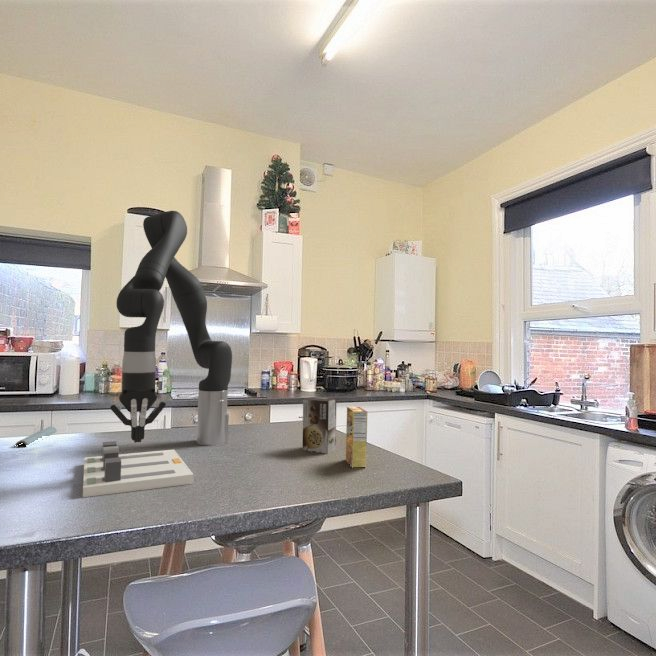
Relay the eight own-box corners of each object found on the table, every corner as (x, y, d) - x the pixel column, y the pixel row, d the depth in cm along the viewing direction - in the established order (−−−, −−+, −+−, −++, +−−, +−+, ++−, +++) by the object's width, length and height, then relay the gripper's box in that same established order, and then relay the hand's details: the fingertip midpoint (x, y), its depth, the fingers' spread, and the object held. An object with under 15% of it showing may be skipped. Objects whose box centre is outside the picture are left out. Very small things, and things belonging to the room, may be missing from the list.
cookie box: (336, 450, 136) (337, 398, 136) (327, 454, 130) (329, 400, 130) (310, 446, 139) (311, 396, 140) (301, 450, 134) (302, 398, 134)
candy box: (344, 460, 124) (345, 406, 124) (359, 459, 125) (360, 406, 125) (351, 468, 115) (352, 411, 116) (367, 468, 116) (368, 410, 116)
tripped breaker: (117, 463, 105) (118, 445, 105) (118, 468, 101) (119, 449, 101) (102, 465, 103) (103, 447, 103) (103, 469, 99) (103, 451, 100)
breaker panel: (173, 458, 121) (174, 435, 122) (193, 485, 99) (194, 456, 99) (83, 467, 111) (85, 441, 111) (82, 500, 88) (84, 467, 88)
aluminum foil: (27, 452, 126) (27, 440, 126) (1, 453, 125) (1, 441, 125) (56, 436, 148) (57, 426, 148) (34, 436, 147) (35, 426, 147)
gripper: (165, 368, 112) (163, 436, 111) (108, 369, 105) (106, 441, 105) (170, 370, 105) (168, 442, 105) (109, 372, 99) (107, 448, 98)
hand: (137, 441), depth 105 cm, fingers closed
